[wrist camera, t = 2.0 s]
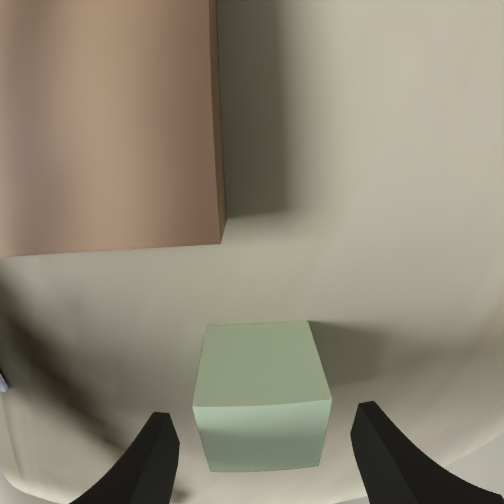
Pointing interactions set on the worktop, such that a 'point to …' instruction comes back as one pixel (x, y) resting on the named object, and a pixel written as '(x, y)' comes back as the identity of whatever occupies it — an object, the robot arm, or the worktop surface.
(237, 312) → the worktop surface
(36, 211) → the walnut base
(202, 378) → the sage block
